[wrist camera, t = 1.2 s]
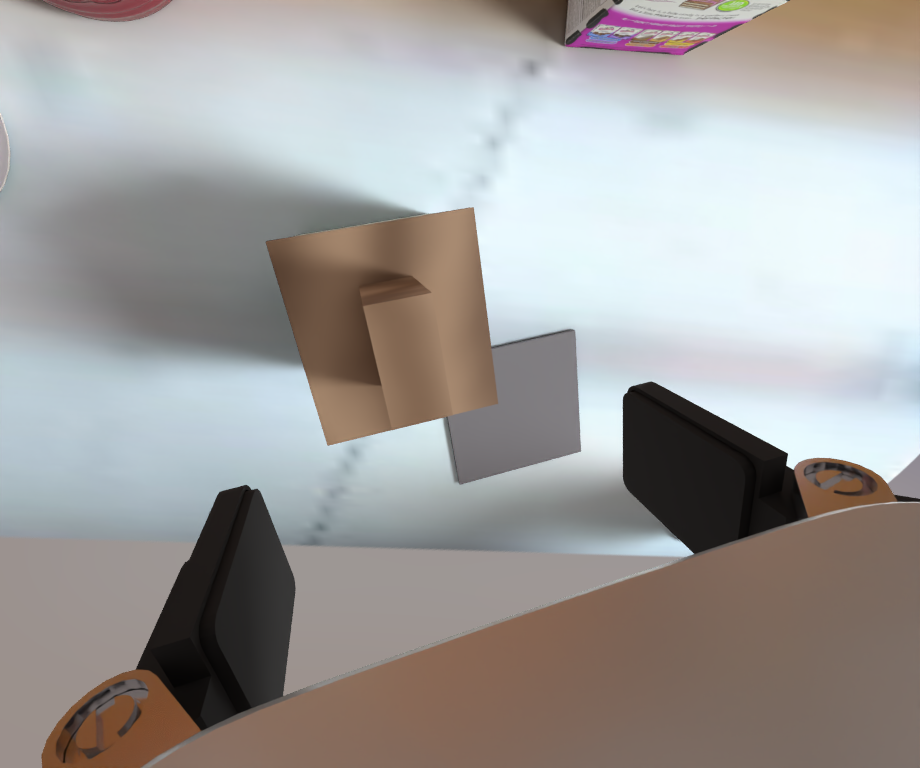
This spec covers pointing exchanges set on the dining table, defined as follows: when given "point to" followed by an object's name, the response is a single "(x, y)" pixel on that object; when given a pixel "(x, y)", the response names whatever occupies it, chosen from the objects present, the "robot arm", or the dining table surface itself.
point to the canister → (111, 8)
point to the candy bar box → (656, 23)
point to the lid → (389, 321)
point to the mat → (522, 410)
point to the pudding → (4, 153)
